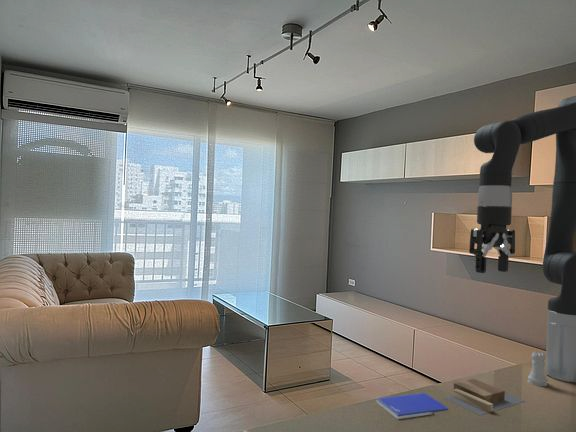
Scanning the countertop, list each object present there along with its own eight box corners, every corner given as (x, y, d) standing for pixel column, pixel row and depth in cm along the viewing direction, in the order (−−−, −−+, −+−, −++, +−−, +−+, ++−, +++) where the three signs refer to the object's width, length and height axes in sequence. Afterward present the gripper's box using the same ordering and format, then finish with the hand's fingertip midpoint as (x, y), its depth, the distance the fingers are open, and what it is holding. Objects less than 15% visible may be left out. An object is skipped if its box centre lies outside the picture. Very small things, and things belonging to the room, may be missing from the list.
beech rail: (456, 395, 99) (457, 388, 99) (492, 411, 91) (493, 404, 91) (452, 396, 98) (452, 389, 98) (488, 412, 91) (488, 405, 91)
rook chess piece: (551, 386, 109) (552, 354, 109) (542, 389, 106) (543, 356, 106) (532, 380, 112) (533, 349, 112) (523, 383, 110) (524, 351, 110)
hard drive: (397, 414, 87) (448, 407, 91) (376, 397, 95) (423, 392, 99) (397, 422, 87) (447, 414, 91) (375, 404, 95) (423, 398, 99)
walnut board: (453, 391, 101) (473, 387, 105) (484, 405, 94) (504, 399, 98) (453, 383, 101) (474, 378, 105) (484, 396, 94) (504, 391, 98)
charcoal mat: (489, 388, 105) (489, 386, 105) (525, 403, 97) (525, 401, 97) (444, 400, 97) (444, 398, 97) (479, 417, 89) (479, 415, 89)
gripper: (498, 206, 113) (496, 269, 112) (461, 203, 105) (459, 271, 105) (526, 206, 106) (524, 273, 106) (489, 203, 99) (487, 275, 99)
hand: (491, 272), depth 106 cm, fingers open, 8 cm apart
